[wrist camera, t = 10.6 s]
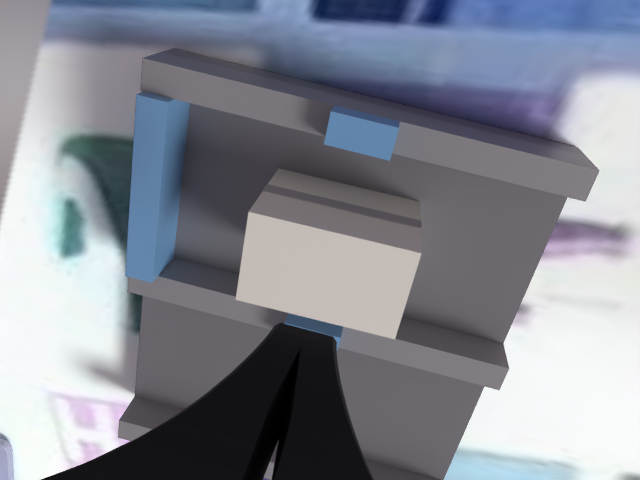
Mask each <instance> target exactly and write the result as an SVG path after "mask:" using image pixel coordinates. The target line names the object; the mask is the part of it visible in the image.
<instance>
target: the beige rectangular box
mask: <svg viewBox="0 0 640 480" xmlns="http://www.w3.org/2000/svg"><path fill="white" fill-rule="evenodd" d="M421 229H422V221H421V213H420V202H419V201H415V200H411V199H407V198H402V197H398V196H394V195H390V194H385V193H381V192H377V191H373V190H369V189H364V188H360V187H356V186H352V185H347V184H343V183H339V182H335V181H330V180H326V179H322V178H318V177H313V176H309V175H305V174H301V173H296V172H292V171H288V170H284V169H279V168H278V170H277V171H276V173H275V174H274V176H273V177H272V179H271V180H270V181H269V183H268V184H266V186H265V187H264V189H263V190H262V193H261V194H260V196H259V197H258V199H257V200H256V202H255V203H254V205H253V206H252V207H251V209H250V210H249V212H248V219H247V225H246V232H245V239H244V246H243V253H242V259H241V266H240V273H239V280H238V286H237V293H236V300H238V301H242V302H246V303H251V304H255V305H259V306H263V307H267V308H271V309H275V310H279V311H283V312H287V313H291V314H295V315H299V316H303V317H307V318H311V319H315V320H319V321H323V322H327V323H331V324H335V325H339V326H343V327H347V328H351V329H355V330H359V331H363V332H367V333H371V334H375V335H379V336H383V337H387V338H391V339H395V338H396V335H397V331H398V328H399V325H400V322H401V318H402V315H403V312H404V309H405V306H406V302H407V299H408V296H409V293H410V289H411V286H412V283H413V280H414V276H415V273H416V270H417V267H418V264H419V260H420V257H421V254H422V249H421Z"/></svg>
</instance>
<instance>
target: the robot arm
mask: <svg viewBox="0 0 640 480" xmlns="http://www.w3.org/2000/svg"><path fill="white" fill-rule="evenodd" d="M277 442H278V446H277V452H276V457H275V463H274V469H273V474H272V480H374V479H373V476H372V474H371V472H370V470H369V468H368V465H367V463H366V461H365V458H364V456H363V453H362V451H361V448H360V446H359V443H358V440H357V437H356V434H355V431H354V428H353V425H352V422H351V419H350V416H349V412H348V409H347V405H346V401H345V397H344V393H343V389H342V385H341V380H340V374H339V368H338V361H337V342H336V340H335V338H334V337H333V336H329V335H326V334H322V333H318V332H314V331H310V330H307V329H303V328H299V327H295V326H291V325H288V324H284V323H279V324H277V325H275V326H274V327H273V328H272V330H271V331H270V333H269V334H268V335H267V336H266V338H265V339H264V340H263V341H262V342H261V343H260V344H259V345H258V347H257V348H256V349H255V350H254V351H253V352H252V353H251V354H250V355H249V356H248V357H247V358H246V359H245V360H244V361H243V362H242V363H241V364H240V365H238V366H237V367H236V368H235V369H234V370H233V371H232V372H231V373H230V374H229V375H228V376H226V377H225V378H224V379H223V380H222V381H220V382H219V383H218V384H217V385H216V386H214V387H213V388H212V389H211V390H210V391H208V392H207V393H206V394H205V395H203V396H202V397H201V398H199V399H198V400H197V401H195V402H194V403H192V404H191V405H190V406H188V407H187V408H185V409H184V410H182V411H181V412H179V413H178V414H176V415H175V416H173V417H172V418H170V419H169V420H167V421H165V422H164V423H162V424H160V425H159V426H157V427H155V428H154V429H152V430H150V431H149V432H147V433H145V434H143V435H142V436H140V437H138V438H136V439H134V440H132V441H131V442H128V443H126V444H124V445H122V446H120V447H118V448H116V449H114V450H112V451H110V452H108V453H106V454H104V455H101V456H99V457H97V458H95V459H93V460H91V461H89V462H86V463H84V464H82V465H79V466H76V467H74V468H71V469H68V470H66V471H63V472H60V473H58V474H55V475H52V476H50V477H47V478H44V479H42V480H263V478H264V475H265V473H266V470H267V468H268V465H269V463H270V460H271V457H272V455H273V452H274V450H275V447H276V445H277ZM0 480H14V470H13V450H12V446H11V444H10V443H9V442H8V441H6V440H4V439H0Z"/></svg>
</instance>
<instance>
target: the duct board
mask: <svg viewBox="0 0 640 480" xmlns="http://www.w3.org/2000/svg"><path fill="white" fill-rule="evenodd" d="M140 91H143V92H141V93H139V94H137V95H136V111H135V127H134V143H133V159H132V175H131V192H130V208H129V224H128V240H127V256H126V272H125V276H128V291H127V292H131V293H135V294H138V295H142V296H143V300H142V312H141V325H140V337H139V350H138V362H137V375H136V387H135V397H134V398H133V400H132V401H131V403H130V405H129V406H128V408H127V409H126V411H125V412H124V414H123V415H122V417H121V418H120V420H119V429H118V438H122V439H126V440H129V441H132V440H134V439H136V438H138V437H140V436H142V435H143V434H145V433H147V432H149V431H150V430H152V429H154V428H155V427H157V426H159V425H160V424H162V423H164V422H165V421H167V420H169V419H170V418H172V417H173V416H175V415H176V414H178V413H179V412H181V411H182V410H184V409H185V408H187V407H188V406H190V405H191V404H192V403H194V402H195V401H197V400H198V399H199V398H201V397H202V396H203V395H205V394H206V393H207V392H208V391H210V390H211V389H212V388H213V387H214V386H216V385H217V384H218V383H219V382H220V381H222V380H223V379H224V378H225V377H226V376H228V375H229V374H230V373H231V372H232V371H233V370H234V369H235V368H236V367H237V366H238V365H240V364H241V363H242V362H243V361H244V360H245V359H246V358H247V357H248V356H249V355H250V354H251V353H252V352H253V351H254V350H255V349H256V348H257V347H258V345H259V344H260V343H261V342H262V341H263V340H264V339H265V338H266V336H267V335H268V334H269V333H270V331H271V330H272V328H273V327H274V326H275V325H277V324H279V323H284V324H288V325H291V326H295V327H299V328H303V329H307V330H310V331H314V332H318V333H322V334H326V335H329V336H333V337H334V338H335V340H336V342H337V361H338V368H339V374H340V380H341V385H342V389H343V393H344V397H345V401H346V405H347V409H348V412H349V416H350V419H351V422H352V425H353V428H354V431H355V434H356V437H357V440H358V443H359V446H360V448H361V451H362V453H363V456H364V458H365V461H366V463H367V465H368V468H369V470H370V472H371V474H372V476H373V479H374V480H443V479H444V477H445V475H446V472H447V470H448V468H449V466H450V463H451V461H452V459H453V457H454V454H455V452H456V450H457V447H458V445H459V443H460V441H461V438H462V436H463V434H464V432H465V429H466V427H467V425H468V422H469V420H470V418H471V416H472V413H473V411H474V409H475V406H476V404H477V402H478V400H479V397H480V395H481V393H482V391H483V388H484V386H486V387H489V388H493V389H497V390H500V388H501V385H502V383H503V381H504V379H505V377H506V374H507V372H508V370H509V366H508V362H507V358H506V354H505V349H504V345H503V343H504V340H505V338H506V336H507V334H508V331H509V329H510V327H511V325H512V322H513V320H514V318H515V315H516V313H517V311H518V309H519V306H520V304H521V302H522V300H523V297H524V295H525V293H526V290H527V288H528V286H529V284H530V281H531V279H532V277H533V274H534V272H535V270H536V268H537V265H538V263H539V261H540V259H541V256H542V254H543V252H544V249H545V247H546V245H547V243H548V240H549V238H550V236H551V234H552V231H553V229H554V227H555V224H556V222H557V220H558V218H559V215H560V213H561V211H562V208H563V206H564V204H565V202H566V199H567V197H569V198H573V199H577V200H581V201H586V199H587V197H588V195H589V193H590V190H591V188H592V186H593V184H594V182H595V179H596V177H597V175H598V173H599V170H598V168H597V167H596V166H595V165H594V164H593V163H592V162H591V161H590V160H589V159H588V158H587V157H586V156H585V155H584V154H583V153H582V151H581V150H580V149H579V148H578V147H575V146H571V145H567V144H562V143H558V142H554V141H550V140H546V139H542V138H538V137H534V136H530V135H526V134H522V133H517V132H513V131H509V130H505V129H501V128H497V127H493V126H489V125H485V124H481V123H477V122H473V121H468V120H464V119H460V118H456V117H452V116H448V115H444V114H440V113H436V112H432V111H428V110H424V109H419V108H415V107H411V106H407V105H403V104H399V103H395V102H391V101H387V100H383V99H379V98H375V97H370V96H366V95H362V94H358V93H354V92H350V91H346V90H342V89H338V88H334V87H330V86H326V85H321V84H317V83H313V82H309V81H305V80H301V79H297V78H293V77H289V76H285V75H281V74H277V73H272V72H268V71H264V70H260V69H256V68H252V67H248V66H244V65H240V64H236V63H232V62H227V61H223V60H219V59H215V58H211V57H207V56H203V55H199V54H195V53H191V52H187V51H183V50H178V49H174V48H173V49H170V50H167V51H164V52H161V53H157V54H154V55H151V56H148V57H145V58H143V59H142V75H141V90H140ZM278 168H279V169H284V170H288V171H292V172H296V173H301V174H305V175H309V176H313V177H318V178H322V179H326V180H330V181H335V182H339V183H343V184H347V185H352V186H356V187H360V188H364V189H369V190H373V191H377V192H381V193H385V194H390V195H394V196H398V197H402V198H407V199H411V200H415V201H419V202H420V213H421V221H422V229H421V249H422V254H421V257H420V260H419V264H418V267H417V270H416V273H415V276H414V280H413V283H412V286H411V289H410V293H409V296H408V299H407V302H406V306H405V309H404V312H403V315H402V318H401V322H400V325H399V328H398V331H397V335H396V338H395V339H391V338H387V337H383V336H379V335H375V334H371V333H367V332H363V331H359V330H355V329H351V328H347V327H343V326H339V325H335V324H331V323H327V322H323V321H319V320H315V319H311V318H307V317H303V316H299V315H295V314H291V313H287V312H283V311H279V310H275V309H271V308H267V307H263V306H259V305H255V304H251V303H246V302H242V301H238V300H236V293H237V286H238V280H239V273H240V266H241V259H242V253H243V246H244V239H245V232H246V225H247V219H248V212H249V210H250V209H251V207H252V206H253V205H254V203H255V202H256V200H257V199H258V197H259V196H260V194H261V193H262V190H263V189H264V187H265V186H266V184H268V183H269V181H270V180H271V179H272V177H273V176H274V174H275V173H276V171H277V170H278ZM277 446H278V442H277V445H276V447H275V450H274V452H273V455H272V457H271V460H270V463H269V465H268V468H267V470H266V473H265V475H264V478H266V479H270V480H272V474H273V469H274V463H275V457H276V452H277Z"/></svg>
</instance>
